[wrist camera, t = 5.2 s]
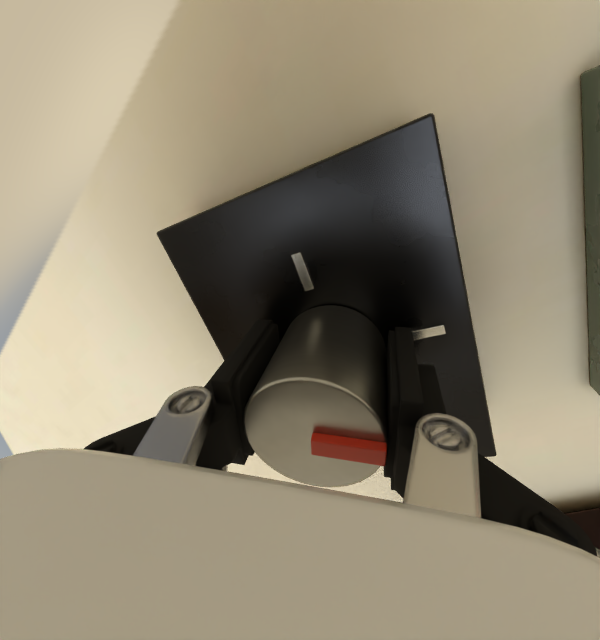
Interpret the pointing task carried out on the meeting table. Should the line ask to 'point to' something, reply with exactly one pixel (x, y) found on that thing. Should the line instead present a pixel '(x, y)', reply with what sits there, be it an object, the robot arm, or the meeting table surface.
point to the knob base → (345, 258)
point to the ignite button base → (592, 211)
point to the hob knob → (323, 400)
